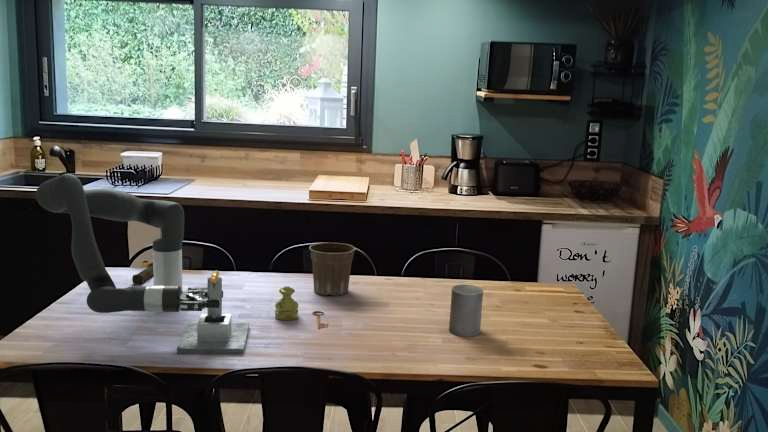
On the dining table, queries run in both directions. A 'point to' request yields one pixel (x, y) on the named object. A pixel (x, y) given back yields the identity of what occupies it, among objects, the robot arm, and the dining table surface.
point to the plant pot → (331, 267)
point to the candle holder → (214, 337)
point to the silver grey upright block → (214, 297)
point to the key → (319, 319)
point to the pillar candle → (466, 310)
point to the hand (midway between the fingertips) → (221, 298)
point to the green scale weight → (286, 305)
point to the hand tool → (143, 275)
